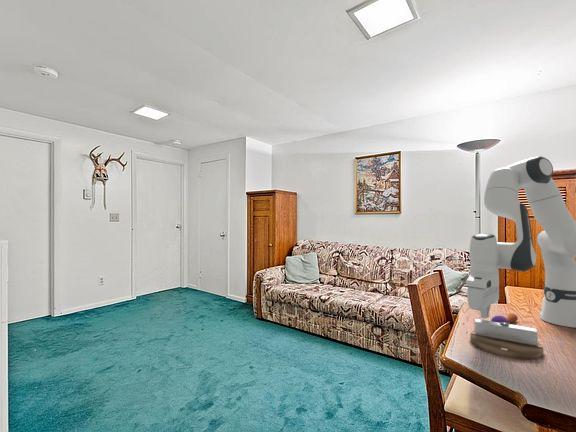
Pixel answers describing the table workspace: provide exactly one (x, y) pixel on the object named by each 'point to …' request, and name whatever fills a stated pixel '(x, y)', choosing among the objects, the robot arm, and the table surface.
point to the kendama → (502, 319)
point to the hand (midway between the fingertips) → (484, 317)
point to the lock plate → (507, 347)
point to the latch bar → (506, 331)
